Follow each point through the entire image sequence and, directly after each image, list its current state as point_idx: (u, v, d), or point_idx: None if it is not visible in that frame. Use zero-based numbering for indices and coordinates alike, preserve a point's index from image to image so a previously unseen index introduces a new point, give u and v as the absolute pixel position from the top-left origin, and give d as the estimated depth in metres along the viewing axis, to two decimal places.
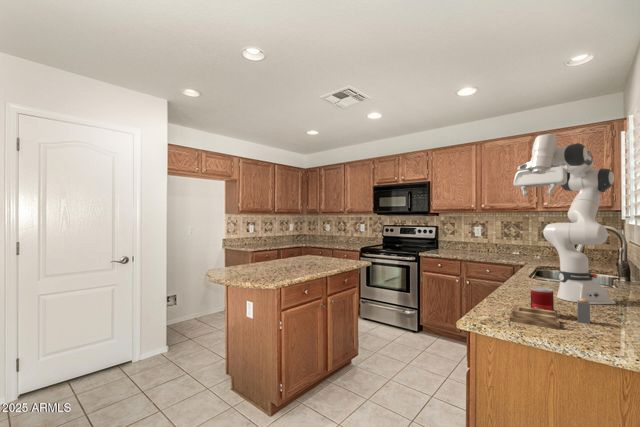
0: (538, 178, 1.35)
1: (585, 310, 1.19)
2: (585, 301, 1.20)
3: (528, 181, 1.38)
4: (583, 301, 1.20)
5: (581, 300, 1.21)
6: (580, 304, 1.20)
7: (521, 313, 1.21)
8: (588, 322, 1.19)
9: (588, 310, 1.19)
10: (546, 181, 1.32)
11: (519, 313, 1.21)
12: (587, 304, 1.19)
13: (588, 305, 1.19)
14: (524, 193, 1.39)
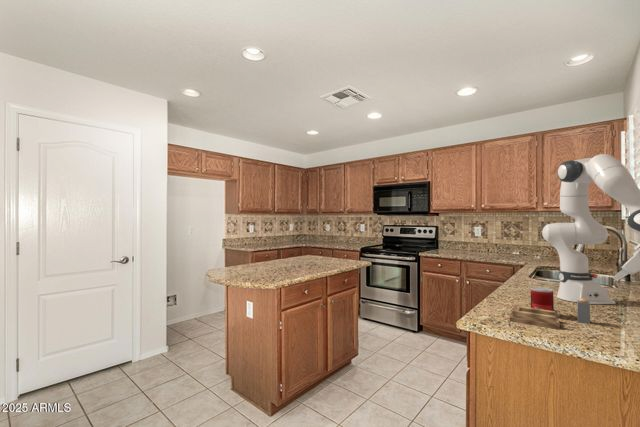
0: None
1: (585, 310, 1.19)
2: (585, 301, 1.20)
3: None
4: (583, 301, 1.20)
5: (581, 300, 1.21)
6: (580, 304, 1.20)
7: (521, 313, 1.21)
8: (588, 322, 1.19)
9: (588, 310, 1.19)
10: None
11: (519, 313, 1.21)
12: (587, 304, 1.19)
13: (588, 305, 1.19)
14: (618, 279, 1.10)
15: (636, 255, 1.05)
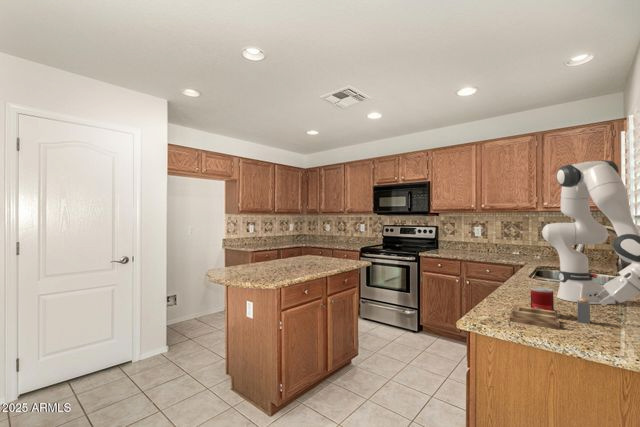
0: None
1: (585, 310, 1.19)
2: (585, 301, 1.20)
3: None
4: (583, 301, 1.20)
5: (581, 300, 1.21)
6: (580, 304, 1.20)
7: (521, 313, 1.21)
8: (588, 322, 1.19)
9: (588, 310, 1.19)
10: None
11: (519, 313, 1.21)
12: (587, 304, 1.19)
13: (588, 305, 1.19)
14: None
15: (626, 284, 1.07)
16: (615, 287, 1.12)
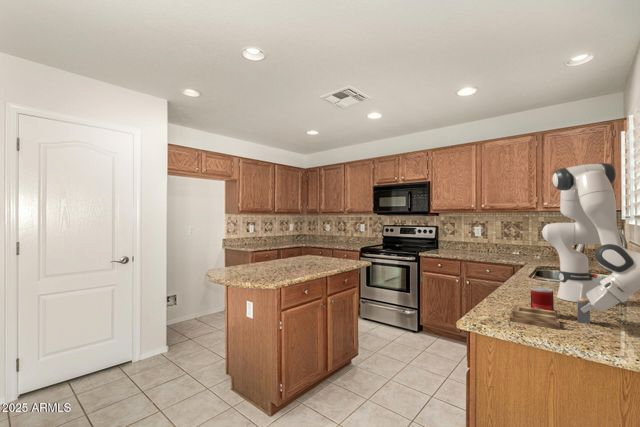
0: None
1: None
2: (585, 301, 1.20)
3: None
4: (583, 301, 1.20)
5: (581, 300, 1.21)
6: (580, 304, 1.20)
7: (521, 313, 1.21)
8: (588, 322, 1.19)
9: None
10: None
11: (519, 313, 1.21)
12: None
13: None
14: None
15: (605, 294, 1.10)
16: (596, 296, 1.16)
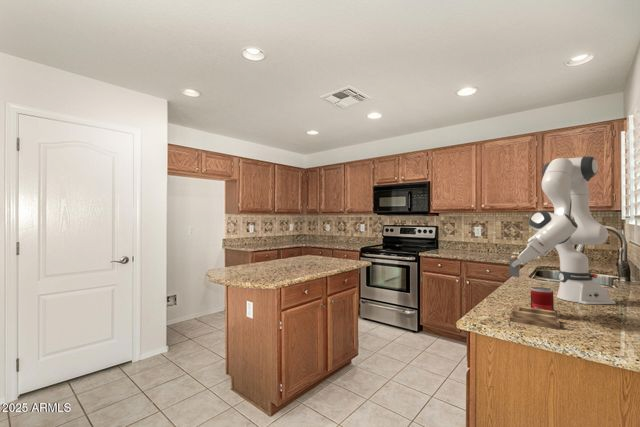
0: None
1: None
2: (515, 257, 1.36)
3: None
4: (514, 257, 1.37)
5: (512, 257, 1.37)
6: (511, 260, 1.37)
7: (521, 313, 1.21)
8: (517, 275, 1.35)
9: (517, 265, 1.35)
10: None
11: (519, 313, 1.21)
12: None
13: None
14: (515, 266, 1.35)
15: (528, 247, 1.27)
16: None
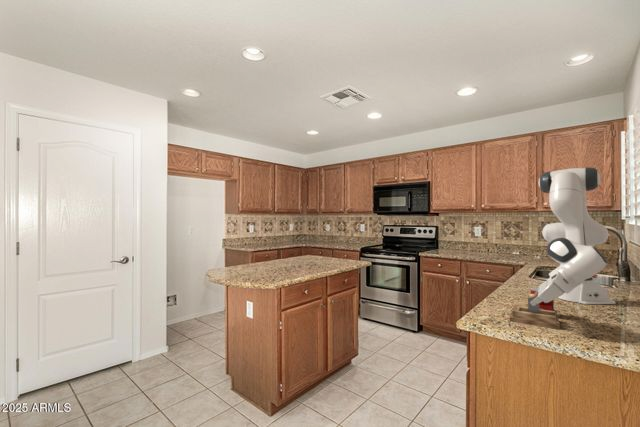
0: None
1: None
2: (535, 297, 1.21)
3: None
4: (533, 297, 1.21)
5: (531, 296, 1.22)
6: (530, 299, 1.21)
7: (521, 313, 1.21)
8: None
9: (537, 305, 1.20)
10: None
11: (519, 313, 1.21)
12: None
13: None
14: None
15: (550, 285, 1.12)
16: (544, 288, 1.17)
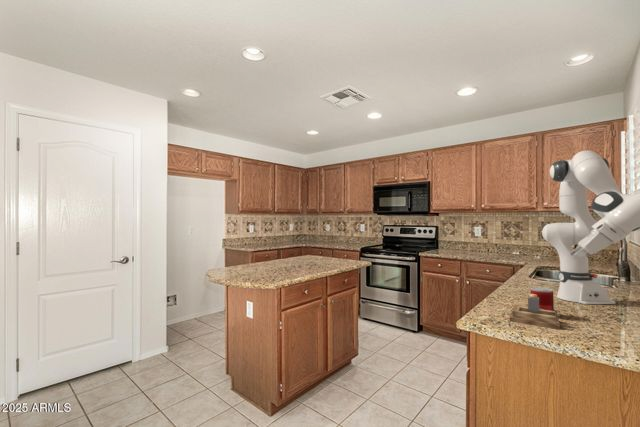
0: None
1: (534, 305, 1.21)
2: (535, 297, 1.21)
3: None
4: (533, 297, 1.21)
5: (531, 296, 1.22)
6: (530, 299, 1.21)
7: (521, 313, 1.21)
8: None
9: (537, 305, 1.20)
10: None
11: (519, 313, 1.21)
12: (536, 299, 1.20)
13: (537, 300, 1.20)
14: (577, 258, 1.11)
15: (597, 235, 1.04)
16: (588, 240, 1.09)
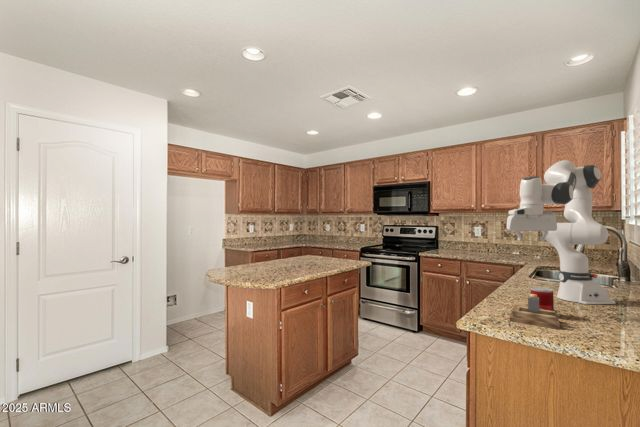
0: (534, 225, 1.39)
1: (534, 305, 1.21)
2: (535, 297, 1.21)
3: (525, 226, 1.40)
4: (533, 297, 1.21)
5: (531, 296, 1.22)
6: (530, 299, 1.21)
7: (521, 313, 1.21)
8: None
9: (537, 305, 1.20)
10: (542, 229, 1.38)
11: (519, 313, 1.21)
12: (536, 299, 1.20)
13: (537, 300, 1.20)
14: (521, 239, 1.41)
15: None
16: None
